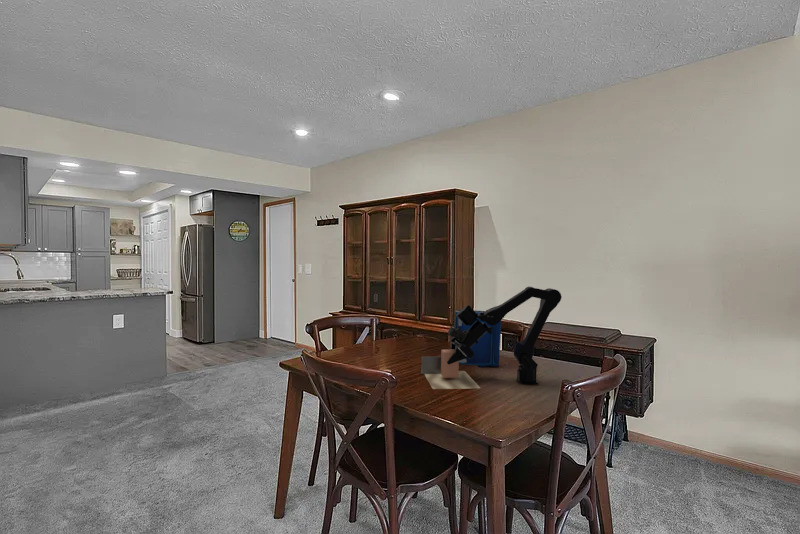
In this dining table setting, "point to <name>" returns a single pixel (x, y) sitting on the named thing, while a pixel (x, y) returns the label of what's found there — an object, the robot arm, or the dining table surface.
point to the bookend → (431, 365)
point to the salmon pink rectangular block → (446, 368)
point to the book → (483, 345)
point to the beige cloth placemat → (451, 381)
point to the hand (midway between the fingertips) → (446, 361)
